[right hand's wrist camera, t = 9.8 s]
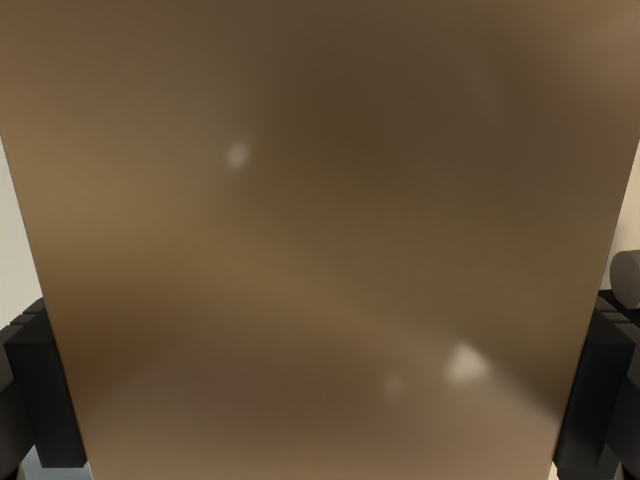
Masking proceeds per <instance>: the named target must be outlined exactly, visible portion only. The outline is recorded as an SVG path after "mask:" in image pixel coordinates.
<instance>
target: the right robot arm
mask: <svg viewBox="0 0 640 480" xmlns="http://www.w3.org/2000/svg"><path fill="white" fill-rule="evenodd" d="M605 442H606V443H607V445H608V446H609V447H610V449H611V450H612V451H613V453H614V454H615V455H616V457H617V458H618V459H619V461H620V462H619V465H618V467H617V470H616V473H615V476H614V479H613V480H640V329H639V328H638V327H637V326H636V325H634V324H630V320H628V319H627V318H626V317H625V316H624V315H622V314H621V313H618V312H617V310H616V309H615V308H614V307H613V306H612V305H610V304H609V303H608V302H607V301H606V300H604V299H603V298H602V297H600V296H598V295H597V298H596V302H595V306H594V309H593V313H592V317H591V320H590V324H589V328H588V331H587V335H586V339H585V343H584V346H583V350H582V354H581V357H580V361H579V365H578V368H577V372H576V376H575V380H574V383H573V387H572V391H571V394H570V398H569V402H568V405H567V409H566V413H565V417H564V420H563V424H562V428H561V431H560V435H559V439H558V442H557V446H556V450H555V454H554V457H553V462H554V464H555V466H556V467H557V468H598V465H599V461H600V458H601V455H602V452H603V449H604V446H605ZM34 444H35V447H36V450H37V453H38V456H39V460H40V463H41V466H42V468H83V467H84V465H85V464H86V462H87V460H86V456H85V453H84V449H83V445H82V441H81V437H80V434H79V430H78V426H77V422H76V419H75V415H74V411H73V407H72V404H71V400H70V396H69V392H68V388H67V385H66V381H65V377H64V373H63V370H62V366H61V362H60V358H59V355H58V351H57V347H56V343H55V339H54V336H53V332H52V328H51V324H50V321H49V317H48V313H47V309H46V306H45V302H44V298H43V297H42V298H40V299H38V300H37V301H35V302H34V303H33V304H32V305H31V306H29V307H28V308H27V309H26V310H25V311H23V314H22V315H19V316H17V317H16V318H15V319H14V320H13V321H11V322H10V325H7V326H5V327H4V328H3V329H2V330H1V331H0V480H25V474H24V470H23V467H22V465H21V461H22V460H23V459H24V457H25V456H26V455H27V453H28V452H29V451H30V449H31V448H32V447H33V445H34Z"/></svg>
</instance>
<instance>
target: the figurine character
mask: <svg viewBox="0 0 640 480" xmlns="http://www.w3.org/2000/svg"><path fill="white" fill-rule="evenodd" d="M610 283H611V287H612V289H609V290H599V291H598V294H597V295H598V296H600V297H602V298H603V299H604V300H606V301H607V302H608V303H609V304H610V305H612V306H613V307H614V308H615V309H616V310H617V312H618V313H621V314H622V315H624V316H625V317H626V318H627V319H628V320H630V324H634V325H636V326H637V327H638V328H639V329H640V250H631V251H621V252H618V253H617V254H616V255H615V256H614V257H613V259H612V262H611V266H610ZM619 462H620V461H619V459H618V458H617V457H616V455H615V454H614V453H613V451H612V450H611V449H610V447H609V446H608V445H607V443H606V442H605V446H604V449H603V452H602V455H601V458H600V461H599V465H598V468H557V476H558V478H559V480H613V479H614V476H615V473H616V470H617V467H618V465H619Z"/></svg>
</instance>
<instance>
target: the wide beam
mask: <svg viewBox="0 0 640 480" xmlns="http://www.w3.org/2000/svg"><path fill="white" fill-rule="evenodd" d="M0 136H1V140H2V143H3V147H4V151H5V155H6V159H7V162H8V166H9V170H10V174H11V177H12V181H13V185H14V189H15V192H16V196H17V200H18V204H19V208H20V211H21V215H22V219H23V223H24V226H25V230H26V234H27V238H28V241H29V245H30V249H31V253H32V257H33V260H34V264H35V268H36V272H37V275H38V279H39V283H40V287H41V290H42V294H43V298H44V302H45V306H46V309H47V313H48V317H49V321H50V324H51V328H52V332H53V336H54V339H55V343H56V347H57V351H58V355H59V358H60V362H61V366H62V370H63V373H64V377H65V381H66V385H67V388H68V392H69V396H70V400H71V404H72V407H73V411H74V415H75V419H76V422H77V426H78V430H79V434H80V437H81V441H82V445H83V449H84V453H85V456H86V460H87V464H88V468H89V471H90V475H91V479H92V480H547V479H548V476H549V472H550V468H551V465H552V461H553V457H554V454H555V450H556V446H557V442H558V439H559V435H560V431H561V428H562V424H563V420H564V417H565V413H566V409H567V405H568V402H569V398H570V394H571V391H572V387H573V383H574V380H575V376H576V372H577V368H578V365H579V361H580V357H581V354H582V350H583V346H584V343H585V339H586V335H587V331H588V328H589V324H590V320H591V317H592V313H593V309H594V306H595V302H596V298H597V294H598V291H599V287H600V283H601V280H602V276H603V272H604V269H605V265H606V261H607V257H608V254H609V250H610V246H611V243H612V239H613V235H614V232H615V228H616V224H617V220H618V217H619V213H620V209H621V206H622V202H623V198H624V195H625V191H626V187H627V183H628V180H629V176H630V172H631V169H632V165H633V161H634V158H635V154H636V150H637V146H638V143H639V139H640V0H0Z"/></svg>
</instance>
